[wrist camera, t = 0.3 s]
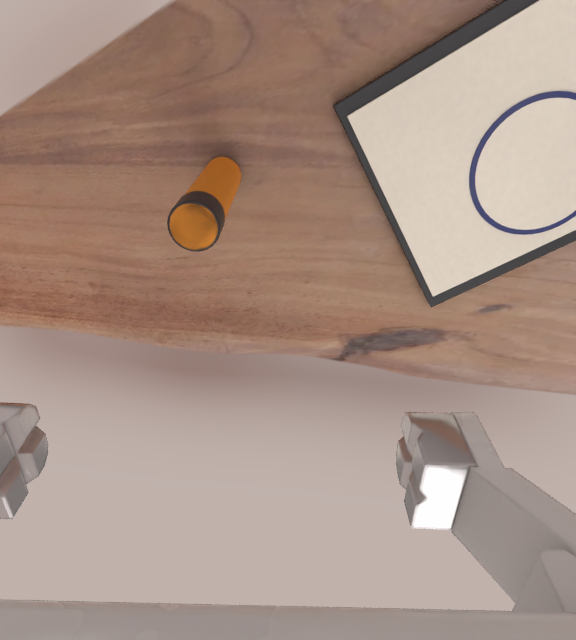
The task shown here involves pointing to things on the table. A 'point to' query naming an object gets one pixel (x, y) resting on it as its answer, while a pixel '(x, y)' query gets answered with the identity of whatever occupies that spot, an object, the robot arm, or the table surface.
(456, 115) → the clipboard
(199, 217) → the marker
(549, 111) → the circle
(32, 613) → the robot arm
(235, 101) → the table surface
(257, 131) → the table surface
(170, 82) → the table surface
